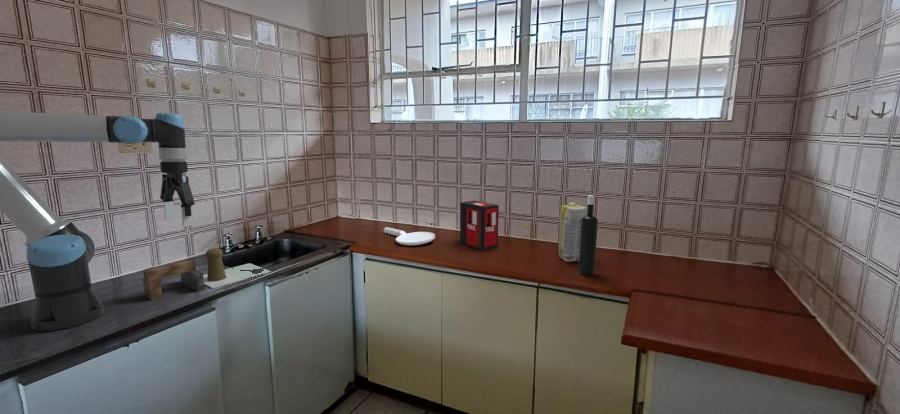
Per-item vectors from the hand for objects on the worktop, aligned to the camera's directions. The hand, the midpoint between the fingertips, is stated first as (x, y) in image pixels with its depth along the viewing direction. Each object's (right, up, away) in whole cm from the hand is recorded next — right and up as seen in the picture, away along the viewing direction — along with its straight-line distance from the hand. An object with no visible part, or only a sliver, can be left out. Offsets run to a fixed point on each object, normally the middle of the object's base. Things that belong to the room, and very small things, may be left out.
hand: (178, 223), depth 139 cm
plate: (+12, -20, +12) cm, 26 cm away
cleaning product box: (+107, -13, +53) cm, 120 cm away
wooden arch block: (0, -23, -3) cm, 23 cm away
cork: (+9, -21, +8) cm, 24 cm away
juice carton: (+144, -17, +32) cm, 148 cm away
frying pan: (+71, -11, +65) cm, 97 cm away
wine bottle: (+145, -20, +15) cm, 147 cm away
